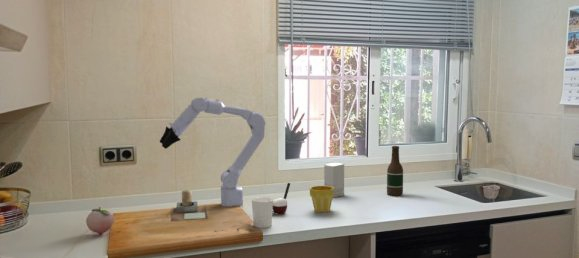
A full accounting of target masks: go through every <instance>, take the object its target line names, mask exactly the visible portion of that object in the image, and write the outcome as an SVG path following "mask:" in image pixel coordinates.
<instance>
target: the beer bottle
mask: <svg viewBox="0 0 579 258" xmlns="http://www.w3.org/2000/svg"><path fill="white" fill-rule="evenodd" d="M386 194H387V196H390V197H396V198H397V197H398V198H399V197H402V196H403V194H404V168H403V165H402V164H401V162H400V146H399V145H392V146H391V159H390V163H389V165H388V167H387V170H386Z"/></svg>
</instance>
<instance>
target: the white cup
mask: <svg viewBox="0 0 579 258" xmlns="http://www.w3.org/2000/svg"><path fill="white" fill-rule="evenodd" d="M273 201H274V198H271V197H269V196H268V197H266V196H260V197H253V198H252V199H251V209H252V220H253V227H255V228H260V229H266V228H271V226H272V222H273V221H272V220H273V212H272V211H273Z"/></svg>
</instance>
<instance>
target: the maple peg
mask: <svg viewBox="0 0 579 258" xmlns="http://www.w3.org/2000/svg"><path fill="white" fill-rule="evenodd" d="M192 195H193V192H192V190H189V189H186V190H182V191H181V202H182V206H192V202H193V198H192V197H193V196H192Z"/></svg>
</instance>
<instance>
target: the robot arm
mask: <svg viewBox="0 0 579 258" xmlns="http://www.w3.org/2000/svg"><path fill="white" fill-rule="evenodd" d="M201 112H204V113H206V114H213V115H217V116H220V115H222V114H224V113H225V114H229V115H234V116H239V117H240V118H242V119H243V120H246V123H247V125H248V126H249V128H250V131H251V136H250V137H249V139H248V140H247V142H246V143H245V145H244V147H242V149H241V151H240V152H239V154H238V156H237V157H236V158H235V159H234V161H233V163H232V164H231V165H230V166H229V167H228V168H227V169H226V170H225V171H223V172H222V173H221V175H220V181H221V183H222V185H221V186H220V205H221V206H222V207H237V206H238V207H239V206H241V207H242V208H244V196H243V187H240V186H238V183H239V182H238V181H239V178H240V176H241V174H242V171H243V169H244V167H246V165H247V163H249V161H250V159H251V157H252V156H253V155H254V154H255V153H256V152H255V151H257V149H258V147H259V146H260V144H261V142H262V141H263V140H264V138H265V132H266V131H265V129H266V128H265V127H266V121H265V118H264V116H263V114H262V113H260V112H255V111H253V110H250V109H247V108H243V107H237V106H229V105H225V104H224V102H222V101H220V100H219V99H216V100H213V99H208V97H205V98H203V97H195V98H194V99H192V101H191V103H190V104H189V105H188V106H187V107H186V108H185V109H183V111H182V112H181V113H180V114H179V116H177V118H176V119H175V120H174V121H173V122H172V123H171V122H168V125H170V127H168V126H165V131H164V133H162V136H161V138H160V139H159V143H160V144H161V147H163V148H164V150H167V149H168V148H169V147H171V146H172V145H174V144H175V143H176V142H180V141H181V137H180V136H181V135H183V133H184V132H186V130H187V129H188V127H190V125H191V124H192V123H193V122H194V121H195V119H197V116H198V115H199V114H200V113H201Z"/></svg>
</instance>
